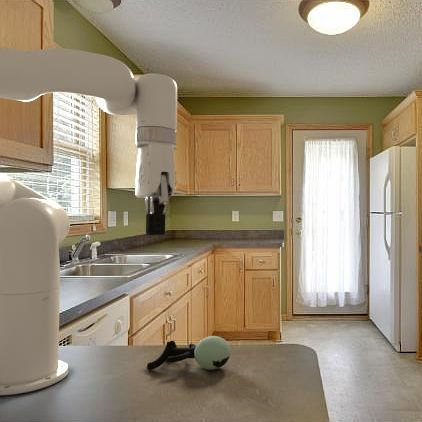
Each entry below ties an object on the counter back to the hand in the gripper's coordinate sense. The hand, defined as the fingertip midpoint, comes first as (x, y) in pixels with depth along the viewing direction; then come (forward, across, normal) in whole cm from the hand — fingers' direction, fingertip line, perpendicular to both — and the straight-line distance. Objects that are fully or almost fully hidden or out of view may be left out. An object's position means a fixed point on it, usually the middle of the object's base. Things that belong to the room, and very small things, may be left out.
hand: (155, 234), depth 74 cm
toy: (+25, +5, +6) cm, 26 cm away
